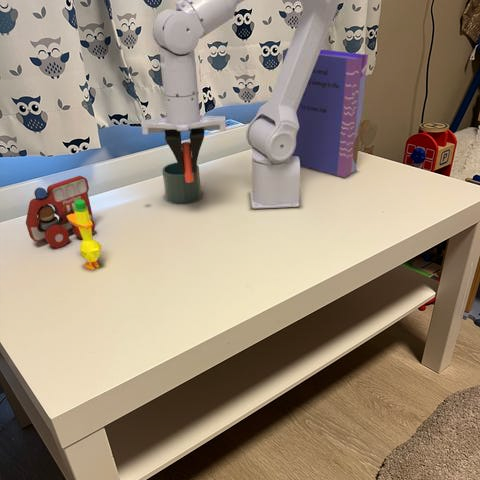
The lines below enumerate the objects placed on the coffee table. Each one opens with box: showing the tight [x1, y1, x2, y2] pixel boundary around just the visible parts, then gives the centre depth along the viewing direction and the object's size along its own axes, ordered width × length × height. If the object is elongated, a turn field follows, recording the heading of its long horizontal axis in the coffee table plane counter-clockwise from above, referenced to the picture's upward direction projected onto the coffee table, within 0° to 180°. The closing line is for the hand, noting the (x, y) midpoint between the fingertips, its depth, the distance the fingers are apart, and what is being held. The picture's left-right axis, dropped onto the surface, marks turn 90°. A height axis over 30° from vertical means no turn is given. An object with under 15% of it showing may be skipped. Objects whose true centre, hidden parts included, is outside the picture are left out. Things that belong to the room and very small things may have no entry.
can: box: [162, 162, 202, 205], centre depth 108 cm, size 7×7×6 cm
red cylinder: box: [181, 141, 194, 183], centre depth 95 cm, size 2×2×7 cm
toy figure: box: [67, 199, 103, 271], centre depth 85 cm, size 7×4×12 cm, turn 49°
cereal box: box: [282, 47, 369, 179], centre depth 114 cm, size 17×5×24 cm, turn 49°
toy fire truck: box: [25, 175, 96, 249], centre depth 94 cm, size 7×12×10 cm, turn 130°
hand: (188, 171), depth 96 cm, fingers closed on red cylinder, 1 cm apart
